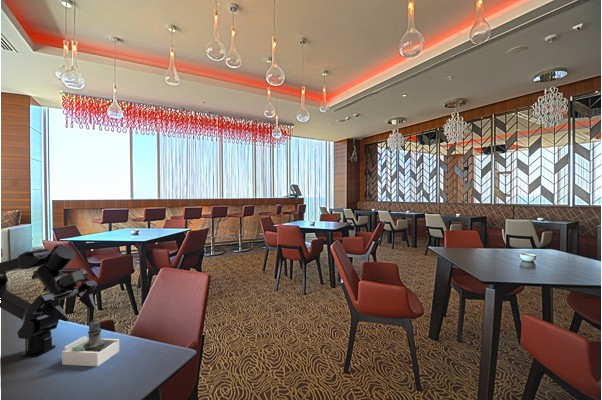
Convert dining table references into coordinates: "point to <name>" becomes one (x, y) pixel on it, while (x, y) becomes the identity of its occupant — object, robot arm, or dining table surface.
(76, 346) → the bar
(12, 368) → the dining table surface
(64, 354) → the box
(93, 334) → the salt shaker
